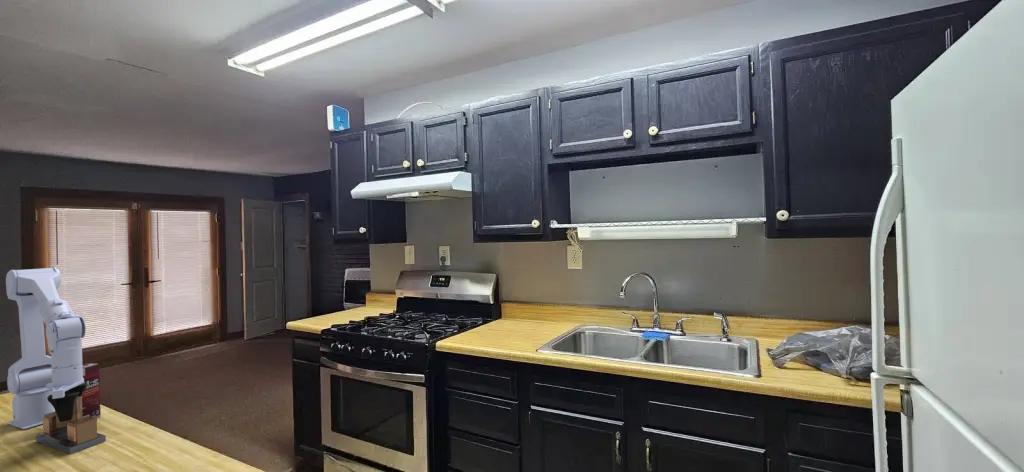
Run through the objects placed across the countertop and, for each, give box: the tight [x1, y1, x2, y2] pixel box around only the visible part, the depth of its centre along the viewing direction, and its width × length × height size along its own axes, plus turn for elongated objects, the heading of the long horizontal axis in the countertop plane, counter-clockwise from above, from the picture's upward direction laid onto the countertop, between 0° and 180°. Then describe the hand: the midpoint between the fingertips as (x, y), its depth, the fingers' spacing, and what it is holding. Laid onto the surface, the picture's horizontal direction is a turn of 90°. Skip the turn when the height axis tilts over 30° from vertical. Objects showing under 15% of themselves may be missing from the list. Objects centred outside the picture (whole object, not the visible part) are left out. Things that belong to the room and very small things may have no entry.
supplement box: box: [82, 362, 102, 419], centre depth 129 cm, size 9×5×16 cm, turn 168°
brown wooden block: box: [56, 396, 83, 428], centre depth 118 cm, size 4×4×6 cm
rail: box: [35, 410, 107, 455], centre depth 118 cm, size 17×7×6 cm, turn 67°
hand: (69, 417), depth 118 cm, fingers closed on brown wooden block, 4 cm apart
